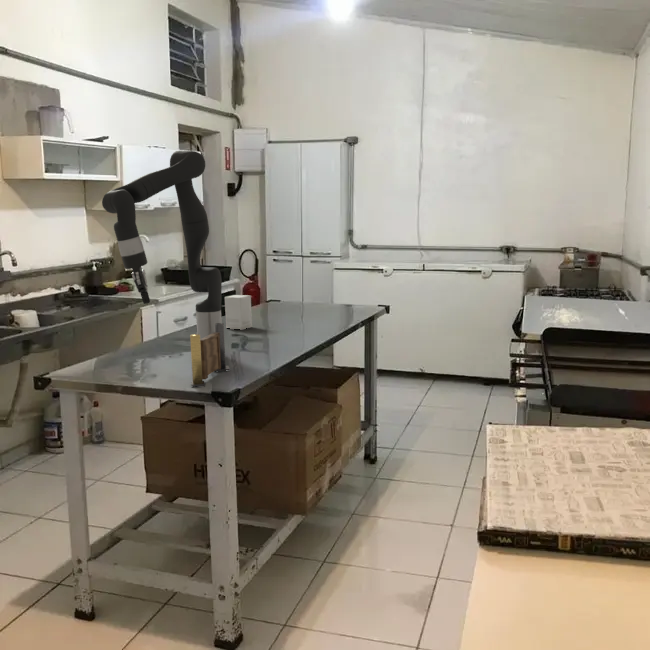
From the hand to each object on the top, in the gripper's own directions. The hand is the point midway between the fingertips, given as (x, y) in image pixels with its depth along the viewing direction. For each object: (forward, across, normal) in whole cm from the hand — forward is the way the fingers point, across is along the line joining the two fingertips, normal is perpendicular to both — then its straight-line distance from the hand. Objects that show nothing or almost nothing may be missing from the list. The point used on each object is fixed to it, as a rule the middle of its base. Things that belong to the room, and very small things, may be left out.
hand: (147, 302), depth 229 cm
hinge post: (+28, -2, -18) cm, 34 cm away
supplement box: (+39, +81, -28) cm, 94 cm away
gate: (+25, -12, -14) cm, 32 cm away
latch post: (+25, -22, -10) cm, 35 cm away
